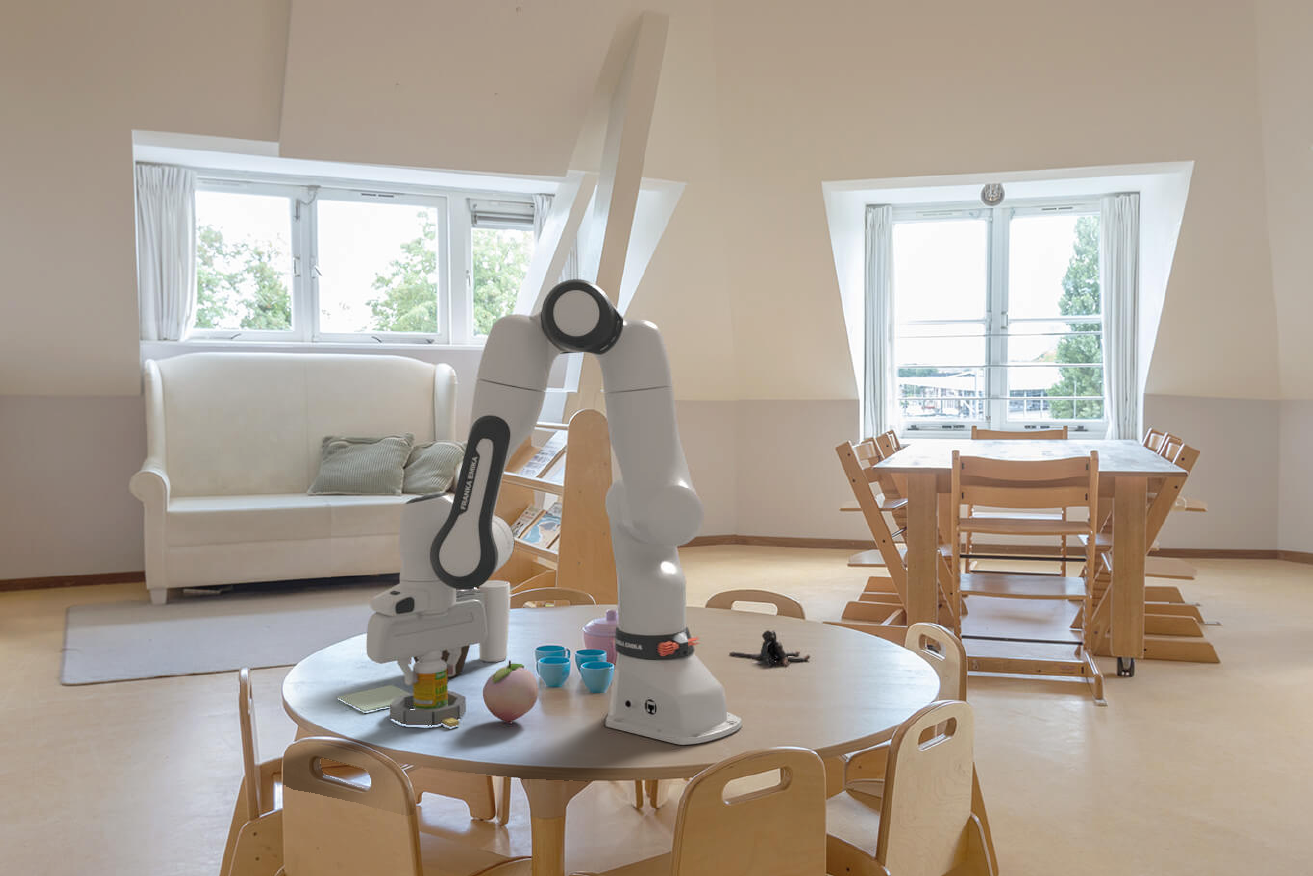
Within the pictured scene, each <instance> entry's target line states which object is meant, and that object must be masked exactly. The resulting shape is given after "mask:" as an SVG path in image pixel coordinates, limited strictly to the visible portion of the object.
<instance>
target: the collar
mask: <svg viewBox="0 0 1313 876" xmlns="http://www.w3.org/2000/svg"><path fill="white" fill-rule="evenodd" d="M409 693H410V692H409ZM466 699H467V698H466V696H464V695H462V694H460V693H457V692H455V691H452V690H451V691H450V690H448V706H446V707H442V708H438V709H433V710H410V709H414V695H413V692H411V693H410V694H406V695H402V696H400V697H397V698H396V699H395V700H394V701H393V702H392V703H391V704H390V708H389V720H390V719H394V720H395V721H398V722H400V723H401V724H406V725H428V726H429V725H431V726H432V725H438V724H441V723H443V724H445V725H447V726H449V727H452V726H456V725H459V726H460V721H458V719H461V717H462V716H463V715H464V716H465V714H466V713H465V712H467V709H466V707H467V706H466V705H467V702H466ZM464 713H465V714H464ZM464 716H463V717H464ZM463 717H462V718H463ZM461 720H462V719H461Z"/></svg>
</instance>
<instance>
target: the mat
mask: <svg viewBox="0 0 1313 876" xmlns="http://www.w3.org/2000/svg"><path fill="white" fill-rule="evenodd" d="M406 694H410V692H409V691H406V690H404V689H401V688H398V687H397V686H394V685H392V684H390V685H386V686H381V687H376V688H372V689H368V690H363V691H357V692H354V693H348V694H343V695H340V696H337V699H338V698H339V699H341V700H343V701H345V702H346V703H348V704H351V705H352V706H355V707H356V708H359V709H360V710H362V711H364V712H366V711H370V710H376V709H380V708H385V707H390V704H391V703H392V702H393V701H394V700H395V699H396V698H397V697H400V696H402V695H406Z"/></svg>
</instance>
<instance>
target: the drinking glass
mask: <svg viewBox="0 0 1313 876" xmlns="http://www.w3.org/2000/svg"><path fill="white" fill-rule="evenodd" d="M480 591H482V593H483V594H484V600H485V606H484V610H485V615H486V622H487V631H488V635H487V637H486V639H485V641H484V642H483V643H478V646H479V649H478V650H479V651H478V652H479V659H480V660H481V661H483V662H486V663H497V662H502V661H504V660H506V659H507V657H508V639H509V627H510V626H509V625H510V613H511V583H510V582H509V581H507V580H498V579H497V580H496V579H494V580H492V579H491V580H487V581H486V582H485V583H484V584H482V585H481V586H480Z"/></svg>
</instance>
